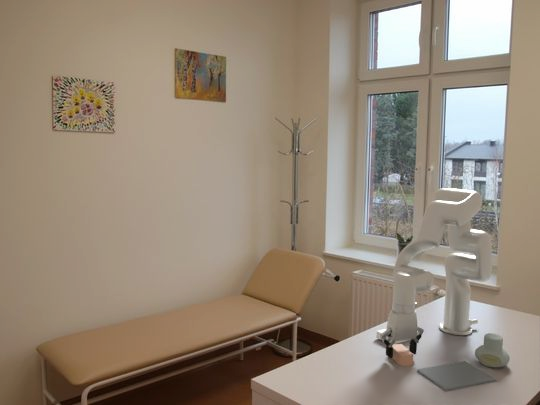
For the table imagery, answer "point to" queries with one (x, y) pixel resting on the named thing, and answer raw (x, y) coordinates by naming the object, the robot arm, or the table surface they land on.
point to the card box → (402, 355)
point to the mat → (456, 375)
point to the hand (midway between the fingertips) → (401, 354)
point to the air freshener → (492, 352)
